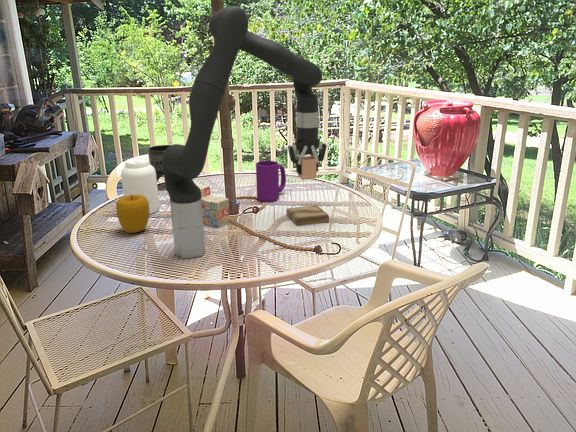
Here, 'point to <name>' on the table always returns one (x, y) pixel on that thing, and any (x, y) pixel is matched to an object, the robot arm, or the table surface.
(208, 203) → the stack of blocks
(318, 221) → the base
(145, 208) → the apple
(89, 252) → the table surface
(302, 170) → the block
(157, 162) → the planter
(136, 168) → the white jar
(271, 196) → the mug
